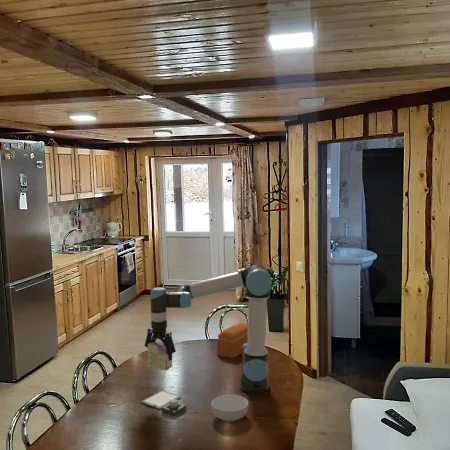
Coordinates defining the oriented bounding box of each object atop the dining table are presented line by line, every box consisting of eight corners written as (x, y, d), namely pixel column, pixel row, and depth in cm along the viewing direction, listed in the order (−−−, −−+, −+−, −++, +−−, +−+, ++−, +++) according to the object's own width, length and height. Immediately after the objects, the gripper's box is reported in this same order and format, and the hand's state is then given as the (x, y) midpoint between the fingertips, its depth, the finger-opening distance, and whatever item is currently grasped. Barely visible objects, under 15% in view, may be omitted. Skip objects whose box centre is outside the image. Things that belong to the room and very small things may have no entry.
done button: (180, 405, 225) (180, 400, 225) (174, 409, 222) (174, 404, 221) (173, 403, 227) (173, 398, 227) (167, 406, 224) (167, 401, 224)
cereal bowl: (236, 430, 206) (236, 414, 206) (204, 420, 215) (203, 405, 215) (255, 413, 221) (255, 398, 220) (224, 405, 230) (224, 391, 229)
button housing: (186, 410, 226) (186, 405, 225) (174, 417, 219) (174, 412, 219) (173, 405, 230) (173, 400, 230) (161, 412, 224) (161, 407, 224)
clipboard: (181, 397, 239) (181, 395, 238) (159, 410, 226) (159, 407, 226) (162, 391, 246) (161, 389, 246) (140, 403, 234) (140, 400, 234)
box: (172, 366, 235) (171, 343, 234) (166, 370, 230) (165, 346, 229) (154, 363, 240) (153, 340, 238) (148, 367, 234) (147, 343, 233)
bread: (215, 355, 297) (214, 330, 295) (238, 342, 318) (238, 319, 316) (233, 359, 289) (233, 333, 287) (256, 346, 310) (256, 322, 308)
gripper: (182, 321, 229) (183, 366, 231) (147, 314, 243) (148, 356, 245) (171, 325, 223) (173, 371, 225) (136, 317, 237) (137, 361, 239)
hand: (160, 363), depth 235 cm, fingers closed on box, 11 cm apart
